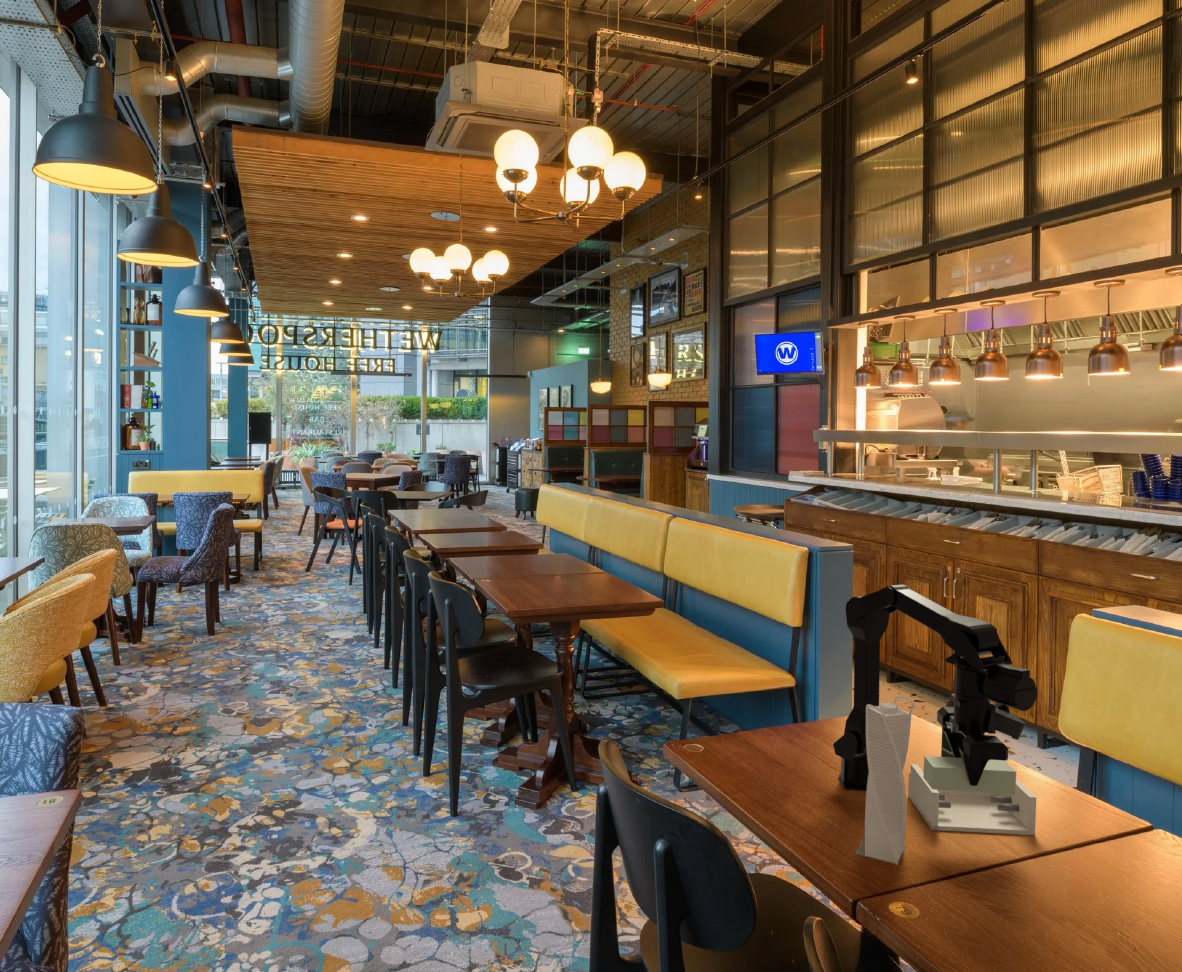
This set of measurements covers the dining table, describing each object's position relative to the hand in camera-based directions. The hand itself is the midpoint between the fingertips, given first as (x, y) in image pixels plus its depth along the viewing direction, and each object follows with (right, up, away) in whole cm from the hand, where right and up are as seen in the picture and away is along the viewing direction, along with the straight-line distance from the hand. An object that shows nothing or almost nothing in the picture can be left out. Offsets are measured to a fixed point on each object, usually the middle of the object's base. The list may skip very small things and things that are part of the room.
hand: (968, 778), depth 145 cm
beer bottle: (+13, -10, +32) cm, 36 cm away
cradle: (+5, -11, +9) cm, 15 cm away
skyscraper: (-17, -12, -5) cm, 21 cm away
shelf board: (0, -1, 0) cm, 1 cm away
